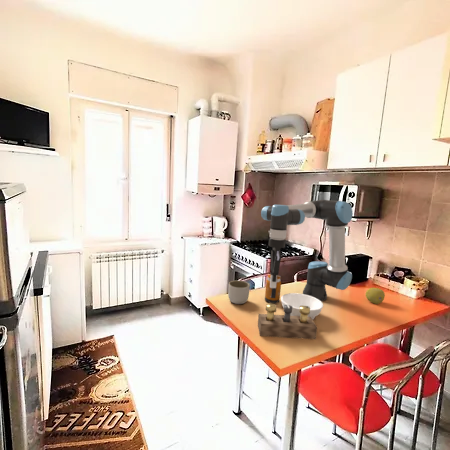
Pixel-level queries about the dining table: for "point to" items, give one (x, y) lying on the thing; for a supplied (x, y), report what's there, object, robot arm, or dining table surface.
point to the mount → (286, 327)
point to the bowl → (302, 303)
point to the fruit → (375, 295)
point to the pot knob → (287, 313)
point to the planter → (238, 291)
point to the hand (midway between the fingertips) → (272, 287)
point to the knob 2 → (304, 313)
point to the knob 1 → (270, 311)
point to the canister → (273, 290)
